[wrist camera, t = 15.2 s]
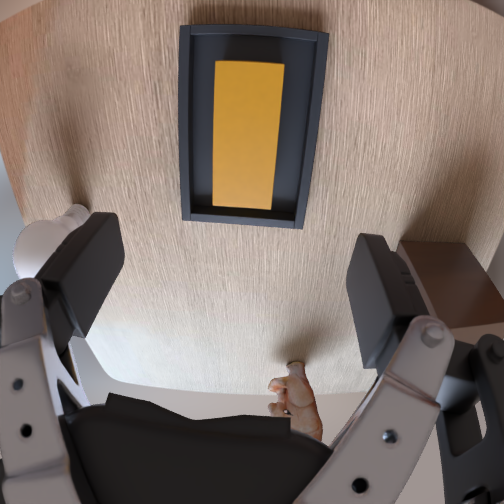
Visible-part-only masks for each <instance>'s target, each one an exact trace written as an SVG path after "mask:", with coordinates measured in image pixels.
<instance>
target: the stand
mask: <svg viewBox="0 0 504 504" xmlns="http://www.w3.org/2000/svg"><path fill="white" fill-rule="evenodd" d="M396 253H397V254H398V255H399V256H400V257H401V258H402V259H403V260H404V261H405V262H406V264H407V266H408V268H409V270H410V272H411V275H412V276H413V278H414V280H415V285H417V287H418V289H419V291H420V293H421V296H422V298H423V300H424V302H425V305H426V307H427V309H428V312H429V314H430V316H433V317H436V318H438V319H440V320H441V321H443V322H444V323H445V324H446V325H447V326H448V327H449V328H450V330H451V331H452V333H453V336H454V339H455V340H459V341H462V342H466V343H470V344H473V345H475V344H476V343H477V341H478V340H479V339H480V338H481V336H483V335H485V334H493V335H496V336H498V337H500V338H501V339H502V340H503V338H504V300H503V298H502V297H501V295H500V293H499V292H498V290H497V289H496V287H495V285H494V284H493V282H492V281H491V280H490V278H489V276H488V275H487V273H486V272H485V270H484V269H483V267H482V266H481V265H480V263H479V262H478V260H477V259H476V258H475V256H474V255H473V253H472V252H471V251H470V249H469V248H468V247H467V245H466V244H463V243H442V242H418V241H399V244H398V248H397V251H396Z"/></svg>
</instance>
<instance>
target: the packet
mask: <svg viewBox="0 0 504 504" xmlns="http://www.w3.org/2000/svg"><path fill="white" fill-rule="evenodd" d="M284 66H285V65H284V64H282V63H274V62H261V61H242V60H217V61H215V83H214V117H213V206H228V207H243V208H256V209H269V210H271V205H272V195H273V185H274V175H275V165H276V155H277V144H278V133H279V123H280V112H281V101H282V89H283V78H284Z"/></svg>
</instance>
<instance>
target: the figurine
mask: <svg viewBox="0 0 504 504" xmlns="http://www.w3.org/2000/svg"><path fill="white" fill-rule="evenodd" d="M286 369H287V371H288V373H289V376H286V377H280V378H274V379H272V380H271V382H270V384H269V386H268V389H269V390H270V391H272V392H276V393H277V395H278V401H279V402H277V403H270V404H269V405H268V409H269V412H270V413H271V417H291V429H294V430H298V431H300V432H303V433H305V434H308V435H310V436H312V437H314V438H316V439H318V440H319V441H322V433H323V429H322V422H321V419H320V417H319V414H318V411H317V406H316V401H315V397H314V393H313V390H312V388H311V386H310V384H309V381H308V379H307V378H306V374H305V365H304V363H302V362H300V361H299V362H292V363H291V364H289V365H287V366H286ZM285 412H287V413H285Z"/></svg>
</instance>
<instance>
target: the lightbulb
mask: <svg viewBox="0 0 504 504" xmlns="http://www.w3.org/2000/svg"><path fill="white" fill-rule="evenodd" d="M89 217H90V214H89V211H88V210H87V209H86V208H85V207H84V206H83V205H81V204H74V205H72V206H71V207H70V208H69V209H68V210H67V211H66V212H65V213H64V214H63V215H62V216H59V217H57V218H55V219H54V220H39V221H36V222H33V223H31V224H29V225H28V226H26V227H25V228H24V229H23V230H22V231H21V233H20V234H19V236H18V237H17V239H16V242H15V244H14V249H13V264H14V268H15V271H16V273H17V275H18V276H19V278H20V279H23V278H29V277H31V278H34V277H35V275H36V274H37V273H38V271H39V270H40V269H41V267H42V266H43V265H44V264H45V262H46V261H47V260H48V258H49V257H50V256H51V255H52V253H53V252H55V250H56V249H57V247H58V246H59V245H60V244H62V241H63V240H64V239H65V238H66V237H67V235H68V234H69V233H70V232H72V231H73V230H75V229H76V228H78V227H79V226H81V225H83V224H84V223H85V222H86V220H87V219H88V218H89Z"/></svg>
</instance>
